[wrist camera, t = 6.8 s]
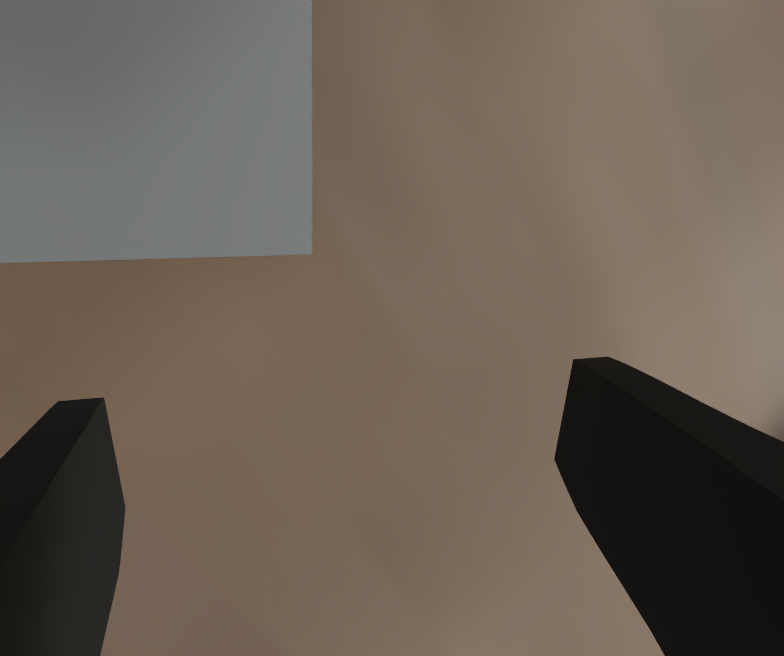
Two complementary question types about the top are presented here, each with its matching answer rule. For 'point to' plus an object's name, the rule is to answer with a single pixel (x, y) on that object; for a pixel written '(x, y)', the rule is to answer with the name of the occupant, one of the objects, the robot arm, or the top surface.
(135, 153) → the board
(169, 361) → the top surface
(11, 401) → the top surface
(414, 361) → the top surface
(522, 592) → the top surface
